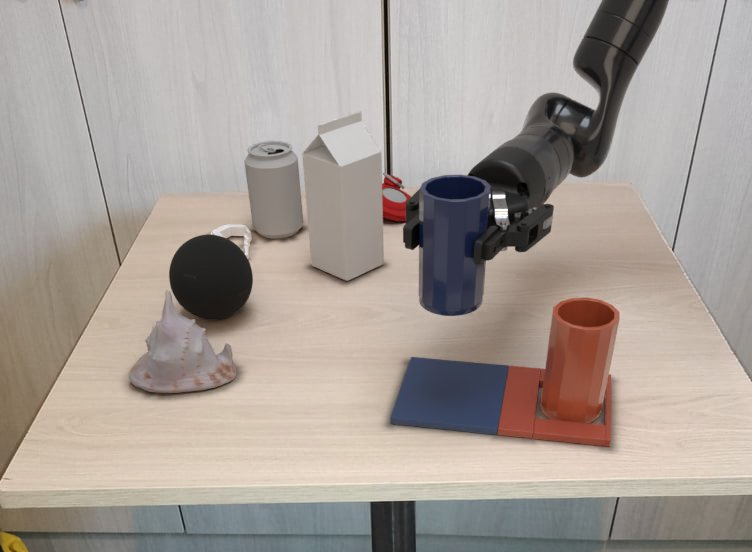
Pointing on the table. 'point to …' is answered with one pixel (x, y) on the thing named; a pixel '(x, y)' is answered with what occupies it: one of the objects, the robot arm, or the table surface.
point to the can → (274, 189)
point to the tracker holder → (394, 198)
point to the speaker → (210, 277)
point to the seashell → (180, 357)
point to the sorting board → (486, 402)
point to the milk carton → (344, 198)
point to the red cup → (578, 359)
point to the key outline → (235, 234)
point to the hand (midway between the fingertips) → (442, 246)
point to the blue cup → (452, 243)
